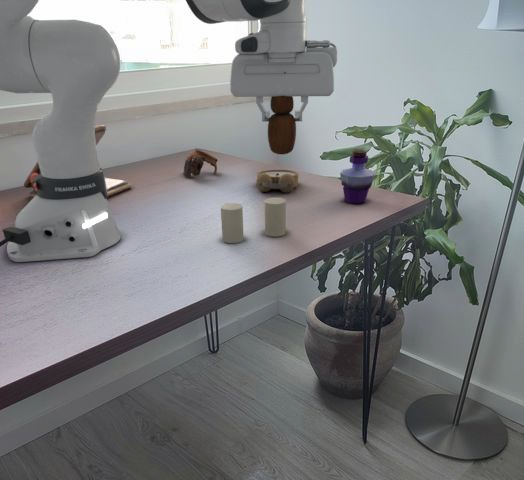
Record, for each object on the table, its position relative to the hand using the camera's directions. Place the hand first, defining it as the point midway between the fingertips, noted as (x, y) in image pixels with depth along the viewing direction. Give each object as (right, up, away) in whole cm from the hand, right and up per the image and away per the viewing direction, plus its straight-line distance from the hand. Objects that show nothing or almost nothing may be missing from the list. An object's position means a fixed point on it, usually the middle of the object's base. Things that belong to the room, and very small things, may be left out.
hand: (282, 121), depth 102 cm
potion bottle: (+19, -9, +24) cm, 32 cm away
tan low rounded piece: (0, -3, +34) cm, 34 cm away
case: (-53, -4, +34) cm, 63 cm away
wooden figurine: (0, -5, +4) cm, 6 cm away
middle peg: (-1, -21, +6) cm, 22 cm away
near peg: (-10, -23, +4) cm, 26 cm away
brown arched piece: (-22, +5, +46) cm, 52 cm away
